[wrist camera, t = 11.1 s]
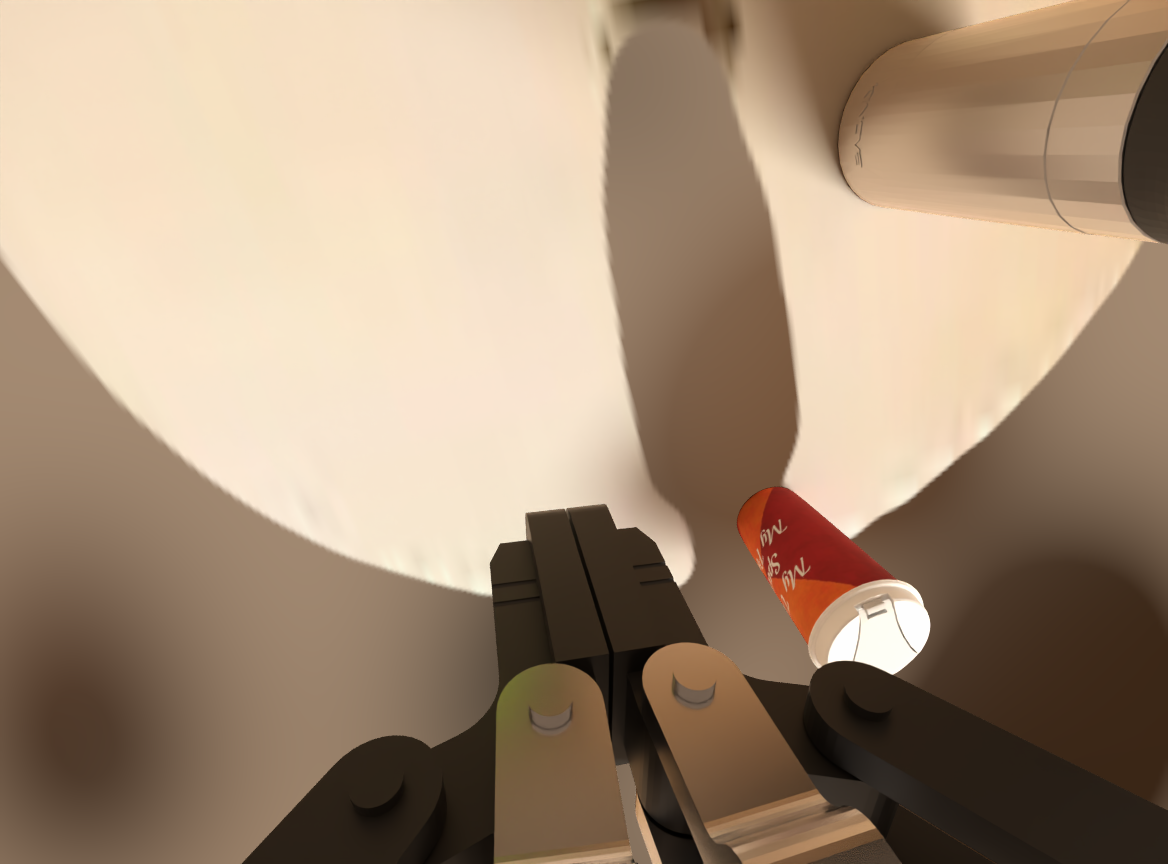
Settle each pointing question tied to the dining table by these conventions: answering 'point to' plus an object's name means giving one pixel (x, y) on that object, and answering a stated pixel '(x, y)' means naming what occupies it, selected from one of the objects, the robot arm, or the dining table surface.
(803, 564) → the paper cup
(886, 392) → the dining table surface
